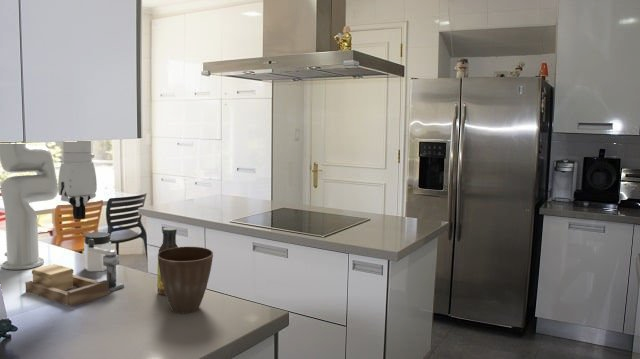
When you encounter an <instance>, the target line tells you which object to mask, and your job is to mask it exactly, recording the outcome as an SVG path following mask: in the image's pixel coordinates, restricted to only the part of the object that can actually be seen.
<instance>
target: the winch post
mask: <svg viewBox="0 0 640 359" xmlns="http://www.w3.org/2000/svg"><path fill="white" fill-rule="evenodd" d="M103 265H104V266H106V270H105V271H106V281H108V282H109V293H112V292H113V291H117V290H120V289H123V288H125V284H124V283H120V282H117V266H118V265H120V255H119V254H117V255H116V256H114V257H106V256H103Z"/></svg>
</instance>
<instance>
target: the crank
mask: <svg viewBox="0 0 640 359" xmlns="http://www.w3.org/2000/svg"><path fill="white" fill-rule="evenodd" d="M88 246H89V247H88V251H92V252H96V253H100V254H105V256H106V257H114V256H116V255H118V254H117V250H116V249H111V250H106V249H102V248H97V247H94V239H89V240H88Z"/></svg>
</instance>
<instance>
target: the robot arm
mask: <svg viewBox="0 0 640 359" xmlns="http://www.w3.org/2000/svg"><path fill="white" fill-rule="evenodd" d="M62 144H63V145H62V146H63V147H62V148H63V152H62V153H63V162H62V163H61V164H60V167H59V172H58V180H57V173H56V169H55V164H54V159H53V155H52V153H51V151H50V149H49V148H48V147H46V146H44V145H40V144H39V145H38V144H35V145H34V144H33V145H31V144H30V145H29V144H28V143H26V144H0V164H1V167H2V169H3V171H5V172H6V173H12V174H13V173H14V174H15V173H17V174H19V173H20V174H21V173H33V172H34V173H36V174H28V175H27V174H26V175H14V176H10V177H7V178H6V179H4V180H3V181H2V182H1V183H0V184H1V185H0V194H1V197H2V202H3V207H4V215H5V217H4V218H5V220H4V221H5V235H6V236H5V237H6V238H5V239H6V252H5V253H4V257H6V261H3V263H2V264H1V266H2V268H3V269H5V270H10V271H12V270H13V271H15V270H19V271H20V270H28V269H33V268H38V267H39V266H42V265H43V264H44V263H45V260H44V258H42V257H40V255H39V232H38V231H39V229H38V228H39V227H38V225H39V224H38V214H37V212H36V211H35V209H34V208H33V207H32V206H31V205H30V203H31V204H32V203H37V202H46V201H51V200H54V199H55V198H56V197H57V195H59V196H61V197H60V201H62V202H67V203H69V204H70V206H72V216H73V219H74V220H85V219H86V206H87V205H88V202H89V201H90V200H92V199H94V198H96V196H97V195H96V193H97V191H98V190H97V185H98V184H97V174H96V168H95V164H94V161H93V162H92V159H94V158H95V153H92V140H91V141H77V142H63V141H62Z"/></svg>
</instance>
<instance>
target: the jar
mask: <svg viewBox="0 0 640 359" xmlns="http://www.w3.org/2000/svg"><path fill="white" fill-rule="evenodd" d="M89 239H94V247H97V248H102V249H106V250H112V241H111V233H109V232H104V231H103V232H102V231H101V232H100V231H97V232H89V233H86V234H85V235H84V242H83V256H84V257H83V258H84V263H83V265H84V269H85V270H86V271H87V272H103V271H106V266H104V265H103V256H105V254H100V253H96V252H92V251H88V247H89V246H88V240H89Z"/></svg>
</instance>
